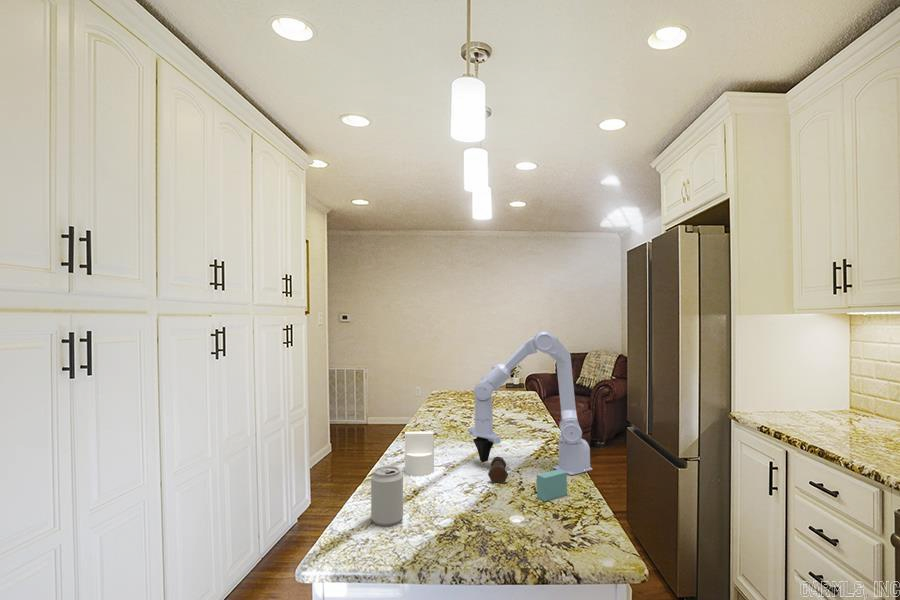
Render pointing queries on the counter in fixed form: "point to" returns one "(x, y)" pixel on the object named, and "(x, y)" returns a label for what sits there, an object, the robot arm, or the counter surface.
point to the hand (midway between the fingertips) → (484, 461)
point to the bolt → (498, 470)
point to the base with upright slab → (419, 453)
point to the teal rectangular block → (551, 485)
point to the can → (387, 495)
